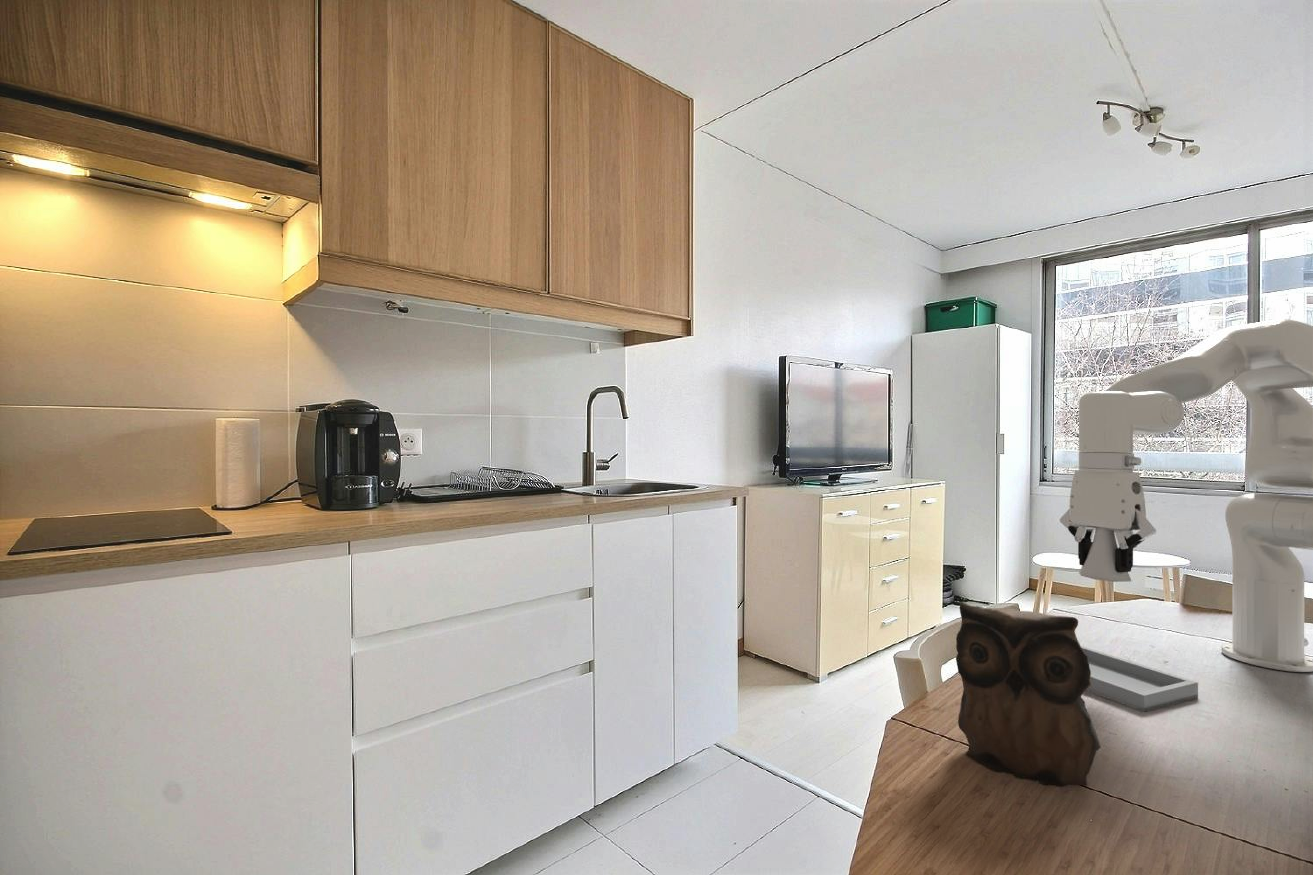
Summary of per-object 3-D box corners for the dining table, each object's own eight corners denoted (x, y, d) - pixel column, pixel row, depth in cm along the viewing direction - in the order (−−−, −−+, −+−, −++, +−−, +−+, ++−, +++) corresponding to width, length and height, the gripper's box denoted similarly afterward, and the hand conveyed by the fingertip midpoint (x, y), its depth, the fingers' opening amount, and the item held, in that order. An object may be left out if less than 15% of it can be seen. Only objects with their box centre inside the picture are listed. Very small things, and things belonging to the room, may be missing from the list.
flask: (1141, 584, 98) (1141, 524, 98) (1091, 582, 100) (1092, 522, 100) (1116, 575, 105) (1116, 518, 105) (1071, 572, 107) (1071, 517, 107)
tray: (1071, 655, 114) (1071, 642, 114) (1197, 697, 95) (1197, 682, 95) (1020, 665, 109) (1020, 651, 109) (1144, 711, 90) (1144, 695, 90)
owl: (1105, 791, 70) (1105, 620, 70) (1003, 795, 68) (1004, 622, 69) (1028, 737, 82) (1029, 593, 82) (941, 740, 81) (942, 594, 81)
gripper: (1176, 465, 96) (1176, 577, 96) (1069, 461, 112) (1068, 557, 112) (1148, 465, 93) (1147, 580, 93) (1042, 461, 109) (1041, 560, 109)
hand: (1104, 567), depth 102 cm, fingers closed on flask, 5 cm apart
